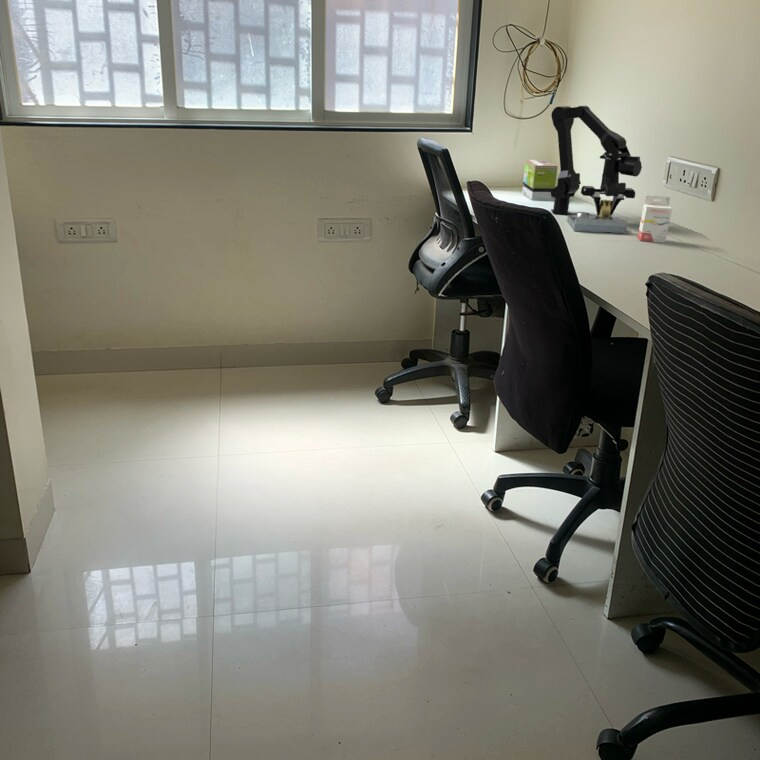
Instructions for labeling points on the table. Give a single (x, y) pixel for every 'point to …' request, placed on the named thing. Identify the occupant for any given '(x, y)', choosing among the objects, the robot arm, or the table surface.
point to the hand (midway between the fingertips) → (604, 215)
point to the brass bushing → (605, 208)
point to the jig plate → (597, 224)
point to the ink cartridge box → (655, 219)
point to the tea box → (539, 179)
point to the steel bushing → (583, 215)
